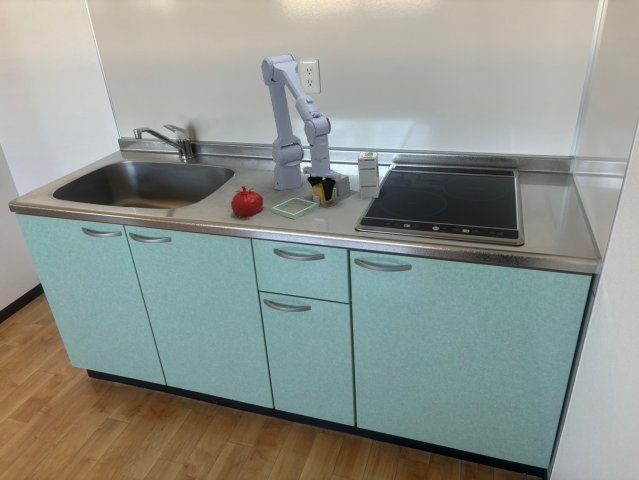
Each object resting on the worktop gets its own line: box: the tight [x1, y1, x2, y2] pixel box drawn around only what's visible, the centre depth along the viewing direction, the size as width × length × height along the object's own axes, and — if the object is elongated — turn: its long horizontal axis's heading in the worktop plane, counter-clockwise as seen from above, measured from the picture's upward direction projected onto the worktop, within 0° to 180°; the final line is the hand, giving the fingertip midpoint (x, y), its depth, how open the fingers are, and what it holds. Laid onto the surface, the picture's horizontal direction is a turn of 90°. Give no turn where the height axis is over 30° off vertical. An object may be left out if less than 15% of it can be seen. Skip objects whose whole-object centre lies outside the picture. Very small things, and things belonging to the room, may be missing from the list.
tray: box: [271, 196, 319, 220], centre depth 151 cm, size 10×10×3 cm
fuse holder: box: [309, 181, 359, 209], centre depth 157 cm, size 9×16×4 cm, turn 137°
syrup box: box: [357, 151, 381, 199], centre depth 154 cm, size 6×6×14 cm
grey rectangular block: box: [334, 173, 351, 197], centre depth 159 cm, size 4×5×6 cm
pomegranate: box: [230, 185, 264, 218], centre depth 153 cm, size 10×10×9 cm
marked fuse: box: [312, 183, 333, 205], centre depth 154 cm, size 4×5×6 cm
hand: (323, 198), depth 155 cm, fingers closed on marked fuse, 3 cm apart
